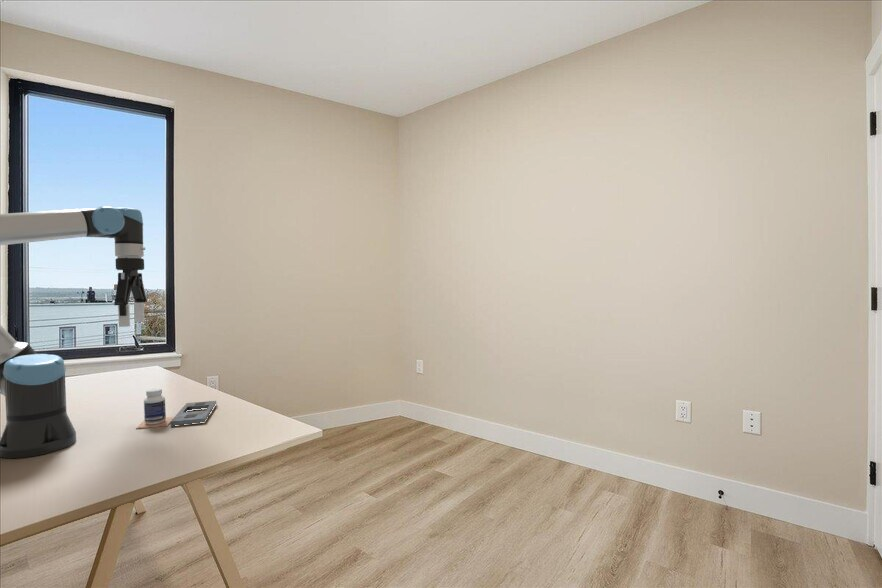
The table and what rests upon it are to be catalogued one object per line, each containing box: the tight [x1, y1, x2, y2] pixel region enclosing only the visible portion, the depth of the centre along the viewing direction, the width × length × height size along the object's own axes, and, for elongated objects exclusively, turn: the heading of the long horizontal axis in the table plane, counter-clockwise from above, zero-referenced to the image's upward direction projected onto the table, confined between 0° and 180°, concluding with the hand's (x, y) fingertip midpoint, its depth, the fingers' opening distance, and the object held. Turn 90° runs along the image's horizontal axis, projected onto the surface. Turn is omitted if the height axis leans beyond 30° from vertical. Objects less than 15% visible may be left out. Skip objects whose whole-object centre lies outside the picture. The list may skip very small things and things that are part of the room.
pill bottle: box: [143, 387, 167, 425], centre depth 136 cm, size 5×5×10 cm
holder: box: [169, 400, 217, 427], centre depth 144 cm, size 20×9×2 cm, turn 17°
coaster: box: [135, 416, 175, 430], centre depth 137 cm, size 8×8×1 cm
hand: (132, 324), depth 146 cm, fingers open, 13 cm apart
